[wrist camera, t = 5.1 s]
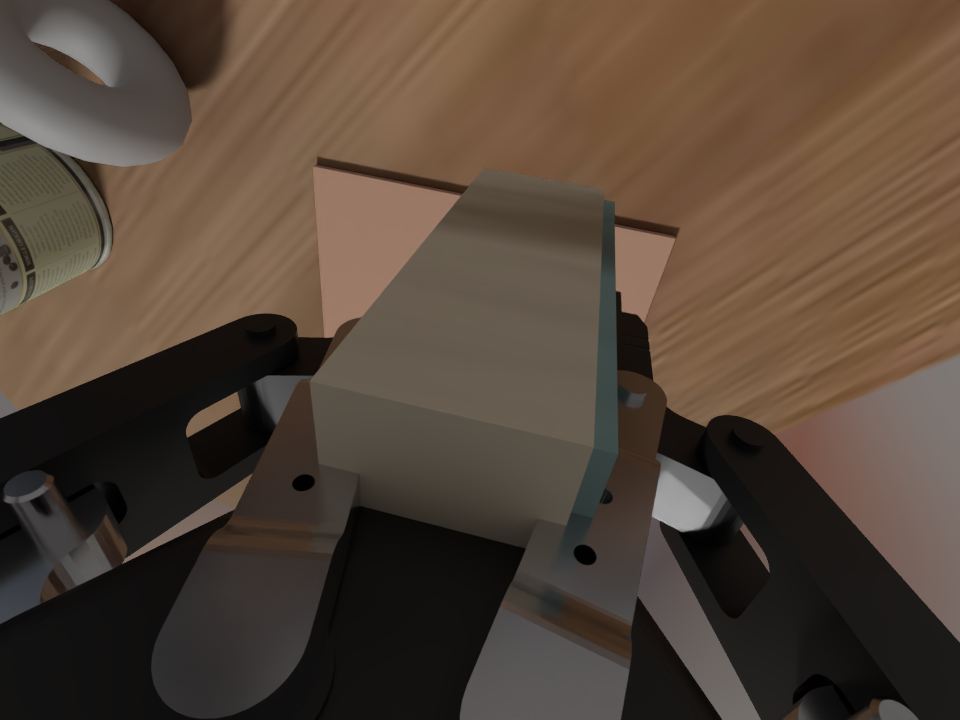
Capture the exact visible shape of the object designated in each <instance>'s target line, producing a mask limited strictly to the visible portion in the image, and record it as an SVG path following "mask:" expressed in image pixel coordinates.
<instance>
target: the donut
mask: <svg viewBox="0 0 960 720" xmlns="http://www.w3.org/2000/svg"><path fill="white" fill-rule="evenodd" d="M33 42H36V43H39V44H42V45H45V46H49V47H52V48H54V49H56V50H58V51H60V52H62V53H64V54H66V55H68V56H71V57H72V58H74V59H75V60H77V61H78V62H80V63H81V64H83V65H84V66H86V67H88V68H89V69H90V70H91V71H92V72H93V73H95V74H96V75H97V76H98V77H99V78H100V79H102V80H103V81H104V83H105V84H106V85H107V86H105V85H101V84H98V83H95V82H92V81H90V80H88V79H86V78H84V77H82V76H79V75H77V74H75V73H73V72H72V71H70V70H68V69H67V68H65V67H64V66H62V65H61V64H59V63H57V62H56V61H54V60H53V59H52V58H50V57H49V56H48V55H47V54H46V53H44V52H43V51H42V50H41V49H40V48H38V47H37V46H36V45H35V44H34V43H33ZM0 122H1V123H2V124H3V125H5V126H7V127H9V128H10V129H12V130H14V131H16V132H18V133H20V134H22V135H24V136H25V137H27V138H29V139H31V140H33V141H35V142H37V143H39V144H40V145H42V146H44V147H47V148H50V149H53V150H55V151H58V152H61V153H64V154H67V155H70V156H73V157H76V158H79V159H81V160H85V161H88V162H95V163H102V164H108V165H115V166H122V167H127V166H135V165H143V164H151V163H155V162H159V161H160V160H162V159H164V158H165V157H167V156H168V155H170V154H172V153H173V152H175V151H176V150H177V149H178V148H180V147H181V146H182V144H183V142H184V139H185V137H186V134H187V132H188V129H189V127H190V124H191V122H192V116H191V107H190V101H189V95H188V91H187V89H186V87H185V85H184V83H183V81H182V79H181V77H180V75H179V73H178V71H177V69H176V67H175V65H174V63H173V62H172V60H171V59H170V58H169V57H168V55H167V54H166V53H165V52H164V50H163V49H162V48H161V47H160V45H159V44H158V43H157V42H156V40H155V39H154V38H153V37H152V36H151V35H150V34H149V33H148V32H147V31H146V30H144V29H143V28H142V27H141V26H140V25H139V24H138V23H137V22H136V21H135V20H134V19H133V18H132V17H131V16H130V15H129V14H127V13H126V12H125V11H123V10H122V9H121V8H119V7H118V6H116V5H115V4H114V3H112V2H111V1H110V0H0Z"/></svg>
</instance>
